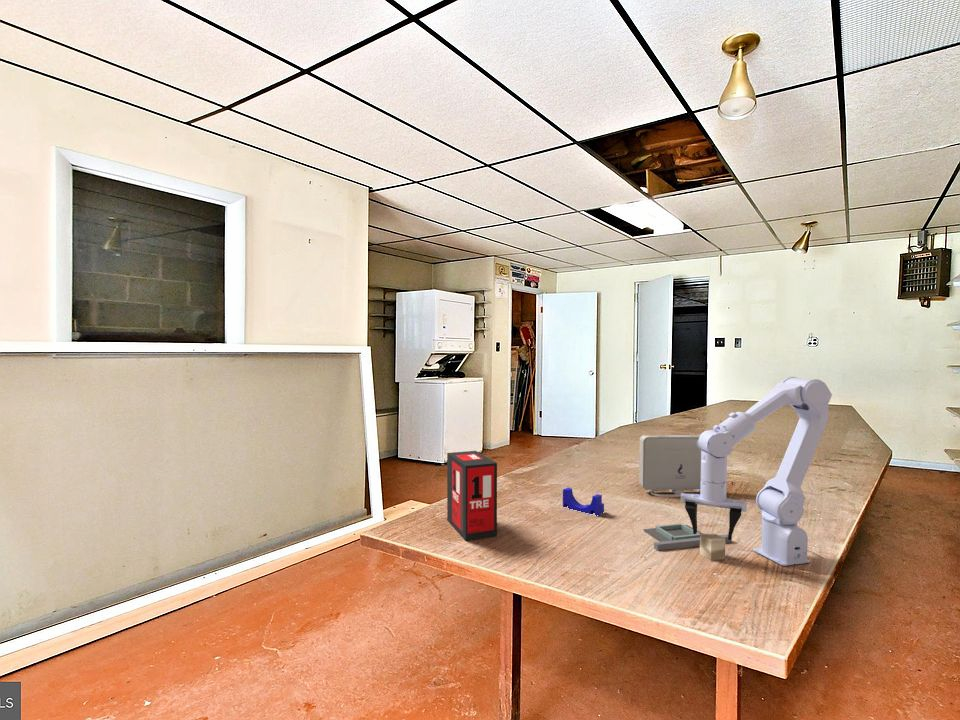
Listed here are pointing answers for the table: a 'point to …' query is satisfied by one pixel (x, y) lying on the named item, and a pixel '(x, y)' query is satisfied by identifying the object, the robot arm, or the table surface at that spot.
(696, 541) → the rail
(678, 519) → the table surface
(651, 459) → the network device
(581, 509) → the blue notched block
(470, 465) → the cleaning product box
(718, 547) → the block
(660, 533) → the keeper cradle
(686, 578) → the table surface
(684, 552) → the table surface
